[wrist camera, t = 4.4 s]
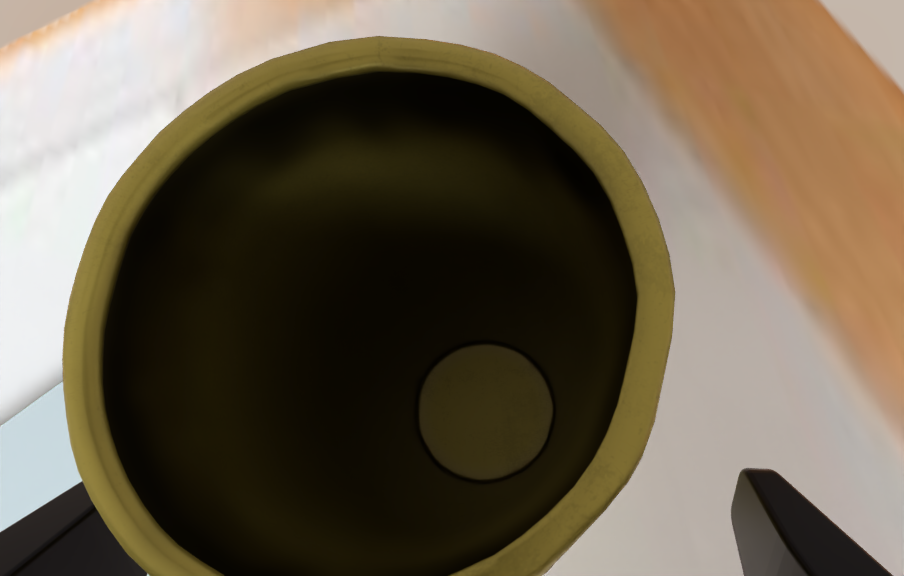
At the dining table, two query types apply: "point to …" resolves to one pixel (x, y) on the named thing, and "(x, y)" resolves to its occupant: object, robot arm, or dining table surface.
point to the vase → (368, 323)
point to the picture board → (35, 458)
